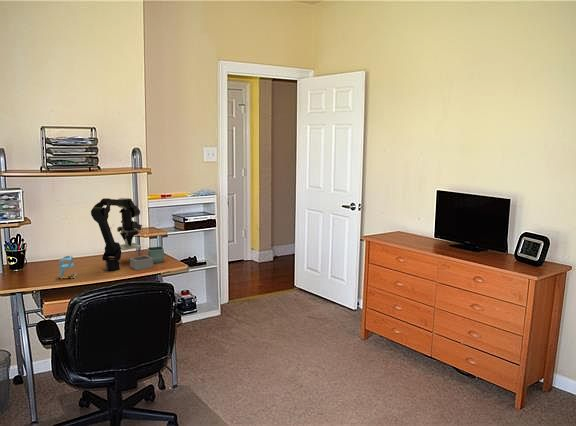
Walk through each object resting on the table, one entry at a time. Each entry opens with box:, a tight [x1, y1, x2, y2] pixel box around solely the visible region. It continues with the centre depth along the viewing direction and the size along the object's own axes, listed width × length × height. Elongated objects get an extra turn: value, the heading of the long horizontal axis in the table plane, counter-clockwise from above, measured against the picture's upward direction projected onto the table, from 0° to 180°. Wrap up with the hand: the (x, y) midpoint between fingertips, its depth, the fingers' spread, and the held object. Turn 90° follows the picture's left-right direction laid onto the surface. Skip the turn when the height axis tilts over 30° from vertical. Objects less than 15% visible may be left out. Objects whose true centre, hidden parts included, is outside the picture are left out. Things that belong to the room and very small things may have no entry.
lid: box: [120, 239, 142, 251], centre depth 310 cm, size 11×11×5 cm
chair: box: [58, 255, 77, 278], centre depth 281 cm, size 8×8×12 cm
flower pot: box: [147, 245, 165, 264], centre depth 311 cm, size 9×9×9 cm
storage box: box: [129, 254, 154, 271], centre depth 299 cm, size 10×10×6 cm
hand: (128, 244), depth 310 cm, fingers closed on lid, 4 cm apart
